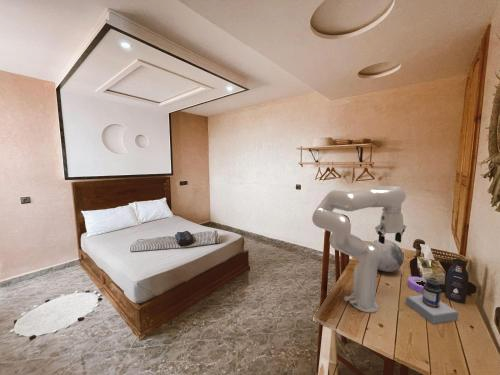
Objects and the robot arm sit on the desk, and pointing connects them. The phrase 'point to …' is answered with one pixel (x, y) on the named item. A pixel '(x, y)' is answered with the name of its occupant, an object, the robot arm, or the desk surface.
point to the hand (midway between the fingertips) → (389, 242)
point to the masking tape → (414, 285)
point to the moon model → (389, 256)
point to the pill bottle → (431, 293)
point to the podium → (432, 310)
